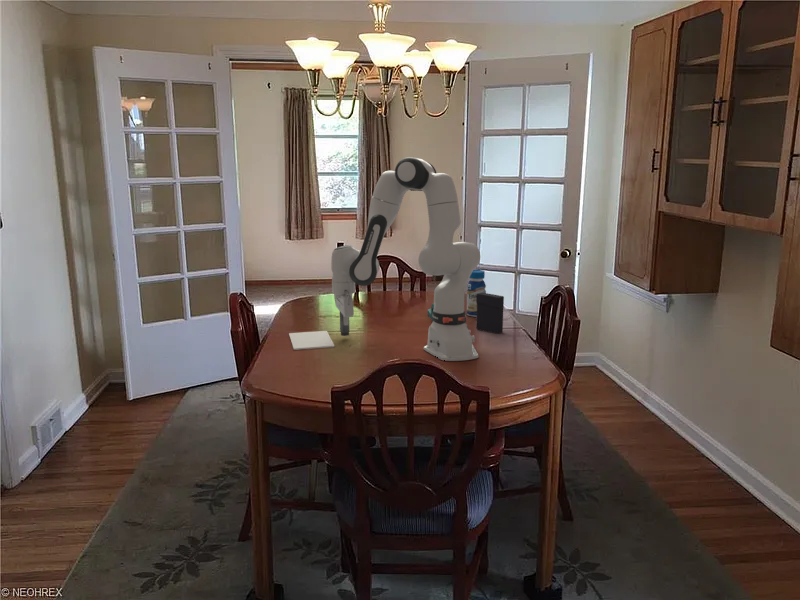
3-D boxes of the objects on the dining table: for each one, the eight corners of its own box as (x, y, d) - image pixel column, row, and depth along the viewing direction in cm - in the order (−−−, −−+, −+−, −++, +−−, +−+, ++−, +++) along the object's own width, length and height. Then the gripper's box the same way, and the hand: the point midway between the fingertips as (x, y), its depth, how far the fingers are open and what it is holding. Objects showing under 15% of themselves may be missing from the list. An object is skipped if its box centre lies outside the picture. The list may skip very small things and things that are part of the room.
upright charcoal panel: (503, 332, 257) (505, 295, 254) (497, 334, 254) (499, 297, 251) (481, 327, 265) (482, 291, 261) (475, 329, 261) (476, 293, 258)
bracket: (449, 322, 272) (449, 304, 270) (433, 323, 271) (434, 305, 270) (440, 312, 290) (441, 295, 288) (426, 313, 289) (426, 296, 287)
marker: (350, 335, 245) (349, 305, 243) (341, 336, 245) (340, 305, 242) (348, 333, 249) (348, 303, 246) (339, 333, 248) (338, 303, 246)
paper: (334, 347, 237) (334, 345, 236) (293, 350, 233) (293, 348, 233) (326, 332, 256) (326, 330, 256) (289, 334, 253) (288, 333, 253)
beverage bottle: (484, 312, 289) (485, 269, 284) (486, 317, 281) (487, 272, 276) (465, 312, 289) (466, 269, 285) (466, 317, 281) (468, 272, 276)
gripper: (357, 292, 234) (358, 329, 237) (347, 283, 253) (347, 316, 256) (340, 293, 232) (341, 330, 235) (331, 283, 252) (332, 318, 254)
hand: (344, 323), depth 246 cm, fingers closed on marker, 4 cm apart
